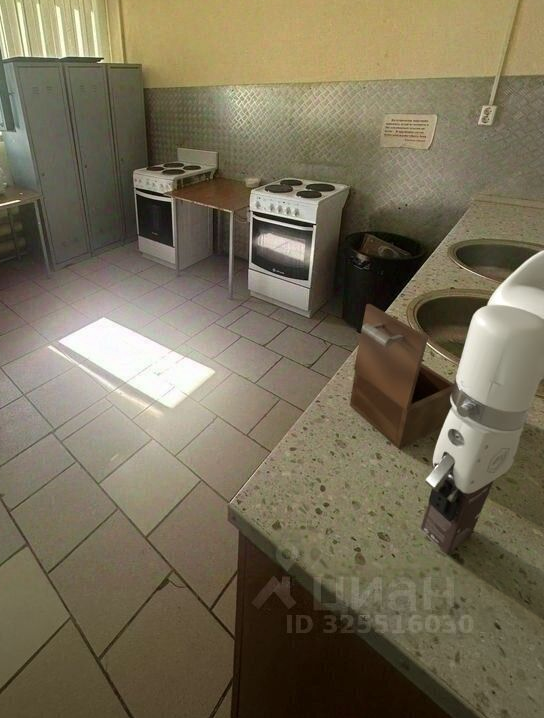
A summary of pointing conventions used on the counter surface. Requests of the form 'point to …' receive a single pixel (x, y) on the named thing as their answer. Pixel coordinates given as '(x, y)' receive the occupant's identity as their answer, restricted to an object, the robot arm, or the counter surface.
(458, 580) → the counter surface
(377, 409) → the chest
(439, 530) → the box
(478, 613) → the counter surface
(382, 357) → the lid
